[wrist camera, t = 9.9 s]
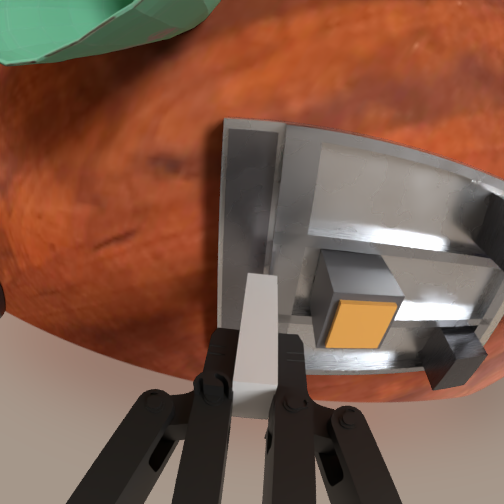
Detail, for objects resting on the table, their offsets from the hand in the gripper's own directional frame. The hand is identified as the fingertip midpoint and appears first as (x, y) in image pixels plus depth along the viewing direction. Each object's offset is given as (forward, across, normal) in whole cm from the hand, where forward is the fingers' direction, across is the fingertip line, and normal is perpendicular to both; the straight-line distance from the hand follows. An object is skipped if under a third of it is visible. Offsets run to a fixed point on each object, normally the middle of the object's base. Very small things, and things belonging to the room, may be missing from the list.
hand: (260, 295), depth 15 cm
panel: (+4, +10, 0) cm, 11 cm away
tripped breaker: (+2, +5, 0) cm, 6 cm away
